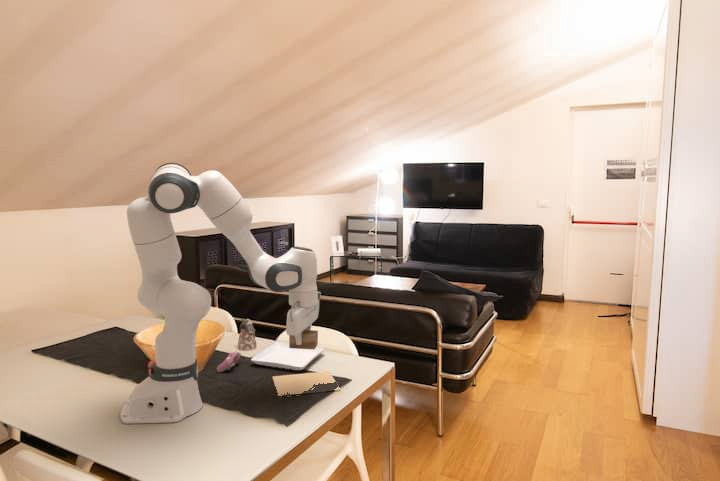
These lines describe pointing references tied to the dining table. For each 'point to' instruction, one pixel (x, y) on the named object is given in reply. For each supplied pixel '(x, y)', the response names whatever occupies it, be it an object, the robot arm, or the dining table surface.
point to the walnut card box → (305, 340)
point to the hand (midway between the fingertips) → (303, 340)
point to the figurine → (247, 336)
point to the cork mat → (301, 382)
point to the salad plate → (286, 356)
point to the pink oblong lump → (229, 362)
